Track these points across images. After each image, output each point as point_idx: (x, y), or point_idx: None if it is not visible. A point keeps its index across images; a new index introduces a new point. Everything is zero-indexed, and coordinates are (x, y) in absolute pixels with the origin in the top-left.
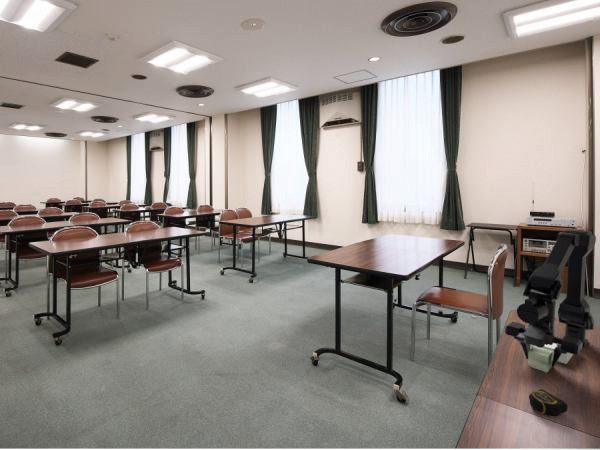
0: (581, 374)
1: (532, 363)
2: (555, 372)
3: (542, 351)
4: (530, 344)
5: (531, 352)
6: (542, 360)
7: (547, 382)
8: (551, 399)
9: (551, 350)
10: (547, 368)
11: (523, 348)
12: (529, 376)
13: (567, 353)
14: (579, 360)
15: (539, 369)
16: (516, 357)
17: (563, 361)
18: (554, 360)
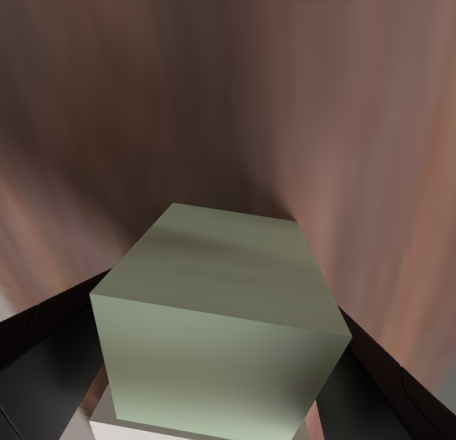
0: (43, 284)
1: (270, 231)
2: (135, 234)
3: (191, 386)
4: (303, 435)
5: (308, 321)
6: (181, 256)
7: (120, 11)
8: None
9: None
10: (162, 220)
11: (405, 374)
12: (273, 18)
13: (96, 415)
14: (106, 384)
15: (220, 212)
16: (370, 294)
17: None
18: (79, 294)
